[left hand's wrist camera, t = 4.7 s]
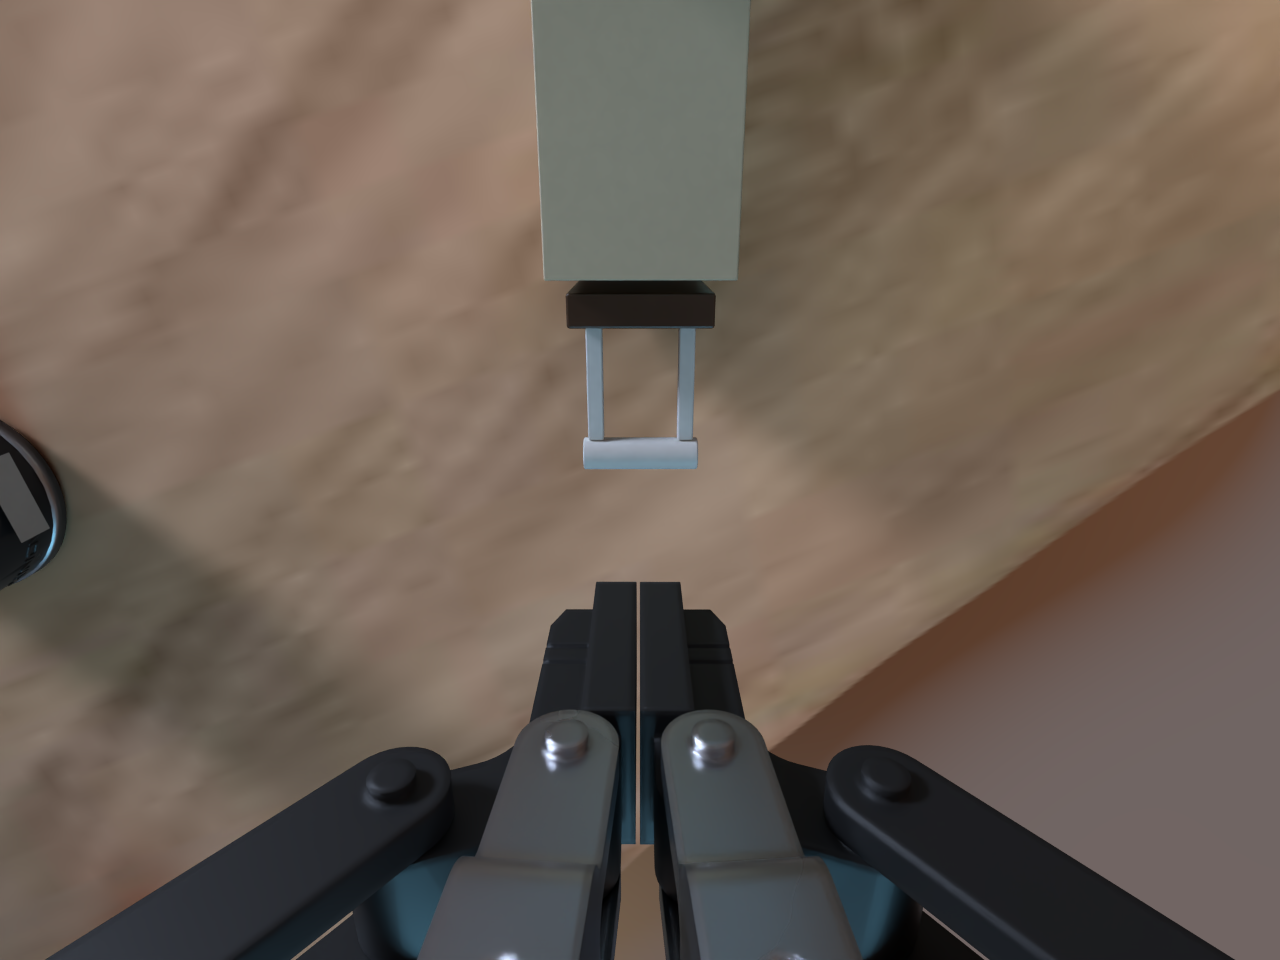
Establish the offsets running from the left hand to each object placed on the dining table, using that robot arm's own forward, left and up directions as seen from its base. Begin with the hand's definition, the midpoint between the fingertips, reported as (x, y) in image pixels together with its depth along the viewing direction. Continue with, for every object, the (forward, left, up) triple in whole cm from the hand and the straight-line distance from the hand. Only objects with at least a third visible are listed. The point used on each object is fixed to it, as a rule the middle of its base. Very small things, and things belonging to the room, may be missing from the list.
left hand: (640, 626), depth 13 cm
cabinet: (-6, +12, -21) cm, 25 cm away
